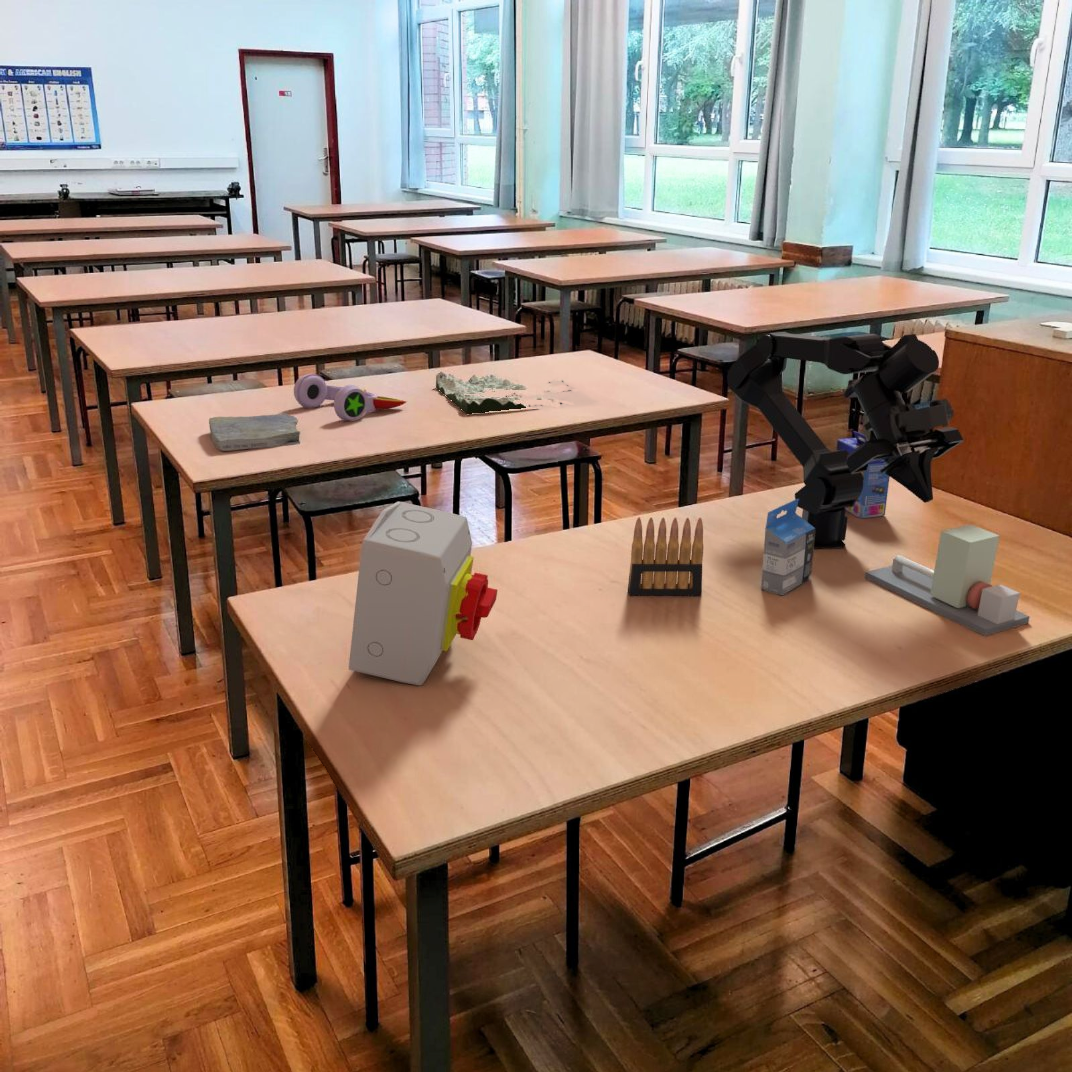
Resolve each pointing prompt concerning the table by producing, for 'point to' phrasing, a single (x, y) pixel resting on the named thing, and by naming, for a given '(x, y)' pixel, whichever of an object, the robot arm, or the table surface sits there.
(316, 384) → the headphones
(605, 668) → the table surface
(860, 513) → the ink cartridge box
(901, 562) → the grey rail base
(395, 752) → the table surface
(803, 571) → the label tape box
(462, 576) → the electrical switch box
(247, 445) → the fossil
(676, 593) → the ammunition clip
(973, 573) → the pale green upright block
